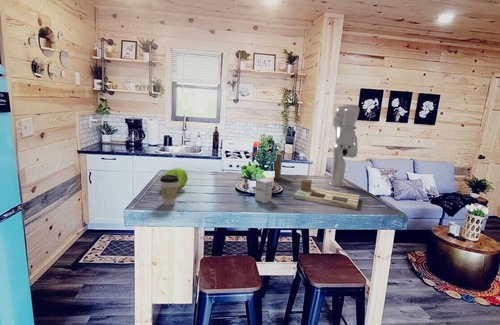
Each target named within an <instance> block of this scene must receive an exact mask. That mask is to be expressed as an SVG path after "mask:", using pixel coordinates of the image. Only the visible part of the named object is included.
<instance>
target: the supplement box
mask: <svg viewBox="0 0 500 325" xmlns="http://www.w3.org/2000/svg"><path fill="white" fill-rule="evenodd" d="M273 183H274V182H273V180H271V179H268V178H263V177H262V179H258V180H256V186H255V191H254V192H255V193H254V200H255V201H258V202H260V203H263V204H265V203H268V202H271V201H272V193H273V192H272V190H273Z"/></svg>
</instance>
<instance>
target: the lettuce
mask: <svg viewBox="0 0 500 325" xmlns="http://www.w3.org/2000/svg"><path fill="white" fill-rule="evenodd" d="M164 175H175V176H177V177H178V179H179V181H178V187H177V190H180V189H182V188H184V187H185V186H186V184H187V182H188V179H189V178H188V174H187V172H186V171H185V170H184V169H183V168H172V169H171V170H169V171H167V172H166V173H164Z"/></svg>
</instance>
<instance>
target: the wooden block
mask: <svg viewBox="0 0 500 325" xmlns="http://www.w3.org/2000/svg"><path fill="white" fill-rule="evenodd" d="M277 152H278V154H277V160H276V161H275V162H274V171H275V179H274V180H278V179H279V180H280V178H281V175H282V174H281V172H282V162H283V152H279V151H277Z"/></svg>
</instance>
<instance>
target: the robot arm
mask: <svg viewBox="0 0 500 325" xmlns="http://www.w3.org/2000/svg"><path fill="white" fill-rule="evenodd" d="M334 111H335V112H334V115H333V127H334V129H335V144H334V145H333V149H332V152H333V154H332V155H333V157H332V167H331V174H330V181H328V182H327V184H328V185H330V186H332V187H338V188H340V187H341V188H342V187H345V186H346V184H345V183H344V180H345V172H346V165H347V164H346V160H345V159H344V158H356V157H357V156H358V137H357V135H356V129H357V126H355V125H356V123H357V120H358V118H359V114H360V107H359V105H358V104H350V103H343V104H342V105H340V106H337V107H336V108H335V110H334Z"/></svg>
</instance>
